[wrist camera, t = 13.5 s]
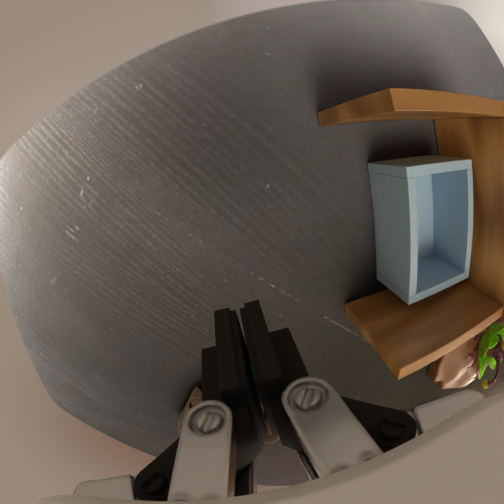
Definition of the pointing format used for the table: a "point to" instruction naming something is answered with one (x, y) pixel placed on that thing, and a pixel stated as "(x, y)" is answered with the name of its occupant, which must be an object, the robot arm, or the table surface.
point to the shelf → (483, 239)
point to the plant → (471, 359)
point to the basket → (422, 223)
